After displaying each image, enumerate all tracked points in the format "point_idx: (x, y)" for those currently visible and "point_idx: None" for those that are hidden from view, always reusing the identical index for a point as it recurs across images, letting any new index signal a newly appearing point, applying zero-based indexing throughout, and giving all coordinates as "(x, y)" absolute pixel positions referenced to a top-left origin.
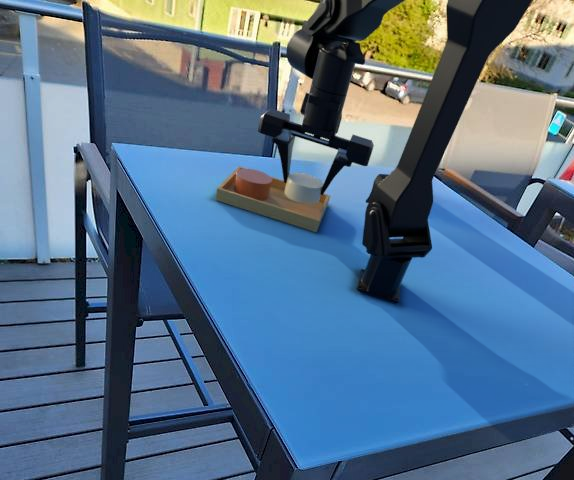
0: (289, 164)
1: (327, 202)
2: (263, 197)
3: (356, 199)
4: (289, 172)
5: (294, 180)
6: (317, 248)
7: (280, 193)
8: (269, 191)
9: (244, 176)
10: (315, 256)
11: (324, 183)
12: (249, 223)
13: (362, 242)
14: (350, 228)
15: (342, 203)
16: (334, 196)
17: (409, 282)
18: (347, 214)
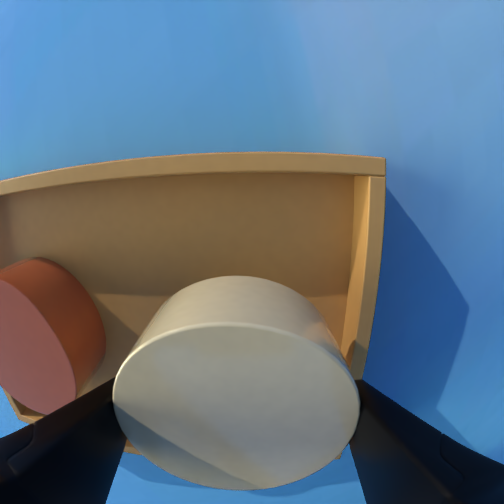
0: (88, 462)
1: (379, 273)
2: (98, 369)
3: (443, 7)
4: (107, 403)
5: (180, 469)
6: (335, 480)
7: (122, 240)
8: (93, 347)
9: (7, 380)
10: (329, 498)
11: (360, 475)
12: (150, 468)
13: None
14: (452, 318)
15: (416, 76)
16: (367, 19)
17: (496, 440)
18: (450, 190)
